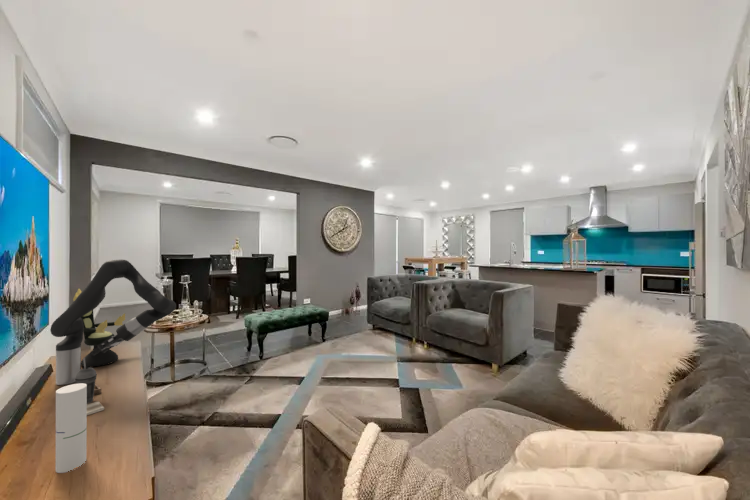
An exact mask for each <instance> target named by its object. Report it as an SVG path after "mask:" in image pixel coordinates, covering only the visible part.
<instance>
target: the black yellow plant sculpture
mask: <svg viewBox="0 0 750 500" xmlns="http://www.w3.org/2000/svg"><path fill="white" fill-rule="evenodd" d="M82 291H83V290H81V289H80V288H78V289H77V292H75V294H74V296H73V299H72V301H73V302H74V301H75V300H76V298H77V297H78V296H79V295H80V294H81V292H82ZM80 318H81V319H82V320H83V324H84V328H83V339H84V340H83V342H84V345H86V346H92V347H93V348H92V350H91V351H93V350H94V349H95V348H97V347H98V346H97V345H99V344H100V343H102V342H103V341H105V340H106V339H108V338H109V337H111V336H113V335H114V336H115V335H116V334H114V333H112V332H111V331H106V329H107V328H108V327H113V326H117V327H118V326H119V327H120V326H122V325H124V324H123V322H124V321H126V313H122V315H119V316H118V317H117V319H116V320H115V321H110V322H109V321H108V319H105V320H104V321H103V322H100V323H95V317H94V309H93V310H92V311H90V312H89V313H87V314H85V315H84V316H82V317H80ZM102 346H103V347H104V346H105V344H104V345H102ZM83 358H85V364H86V367H91V368H93V367H92V366H97V367H101V366H100V365H102V366H106V365H109V364H108V363H110V364H112V363H114V362H115V360H116V361H117V360H118V359H119V355H118V354H117V353H116V352H115V351H113V350H112V349H111V348H110V349H109V350H108V351H106V352H105V353H103V352H102V351H100V352H99V353H97V354H96V355H94V356H92V355H91V353H90V352H89V353H88V354H86V355H85V356H84V357H83ZM83 358H82V359H81V367H84V359H83ZM111 362H112V363H111ZM105 364H106V365H105Z"/></svg>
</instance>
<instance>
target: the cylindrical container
mask: <svg viewBox="0 0 750 500" xmlns="http://www.w3.org/2000/svg"><path fill="white" fill-rule="evenodd" d="M87 417H88V415H87V384H84V383H79V384H76V383H71V384H67V385H65V386H62V387H60V388H58V389H57V390H55V473H58V474H65V473H69V472H71V471H70V470H72V471H74V470H75V469H74V468H76V467H79V466H80V467H82V466H83V465H84V464H86V462H87V431H88V430H87V427H88V426H87V423H88V422H87ZM85 461H86V462H85ZM83 463H84V464H83ZM82 464H83V465H82ZM81 465H82V466H81ZM80 467H79V468H80ZM73 469H74V470H73ZM68 471H69V472H68Z"/></svg>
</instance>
